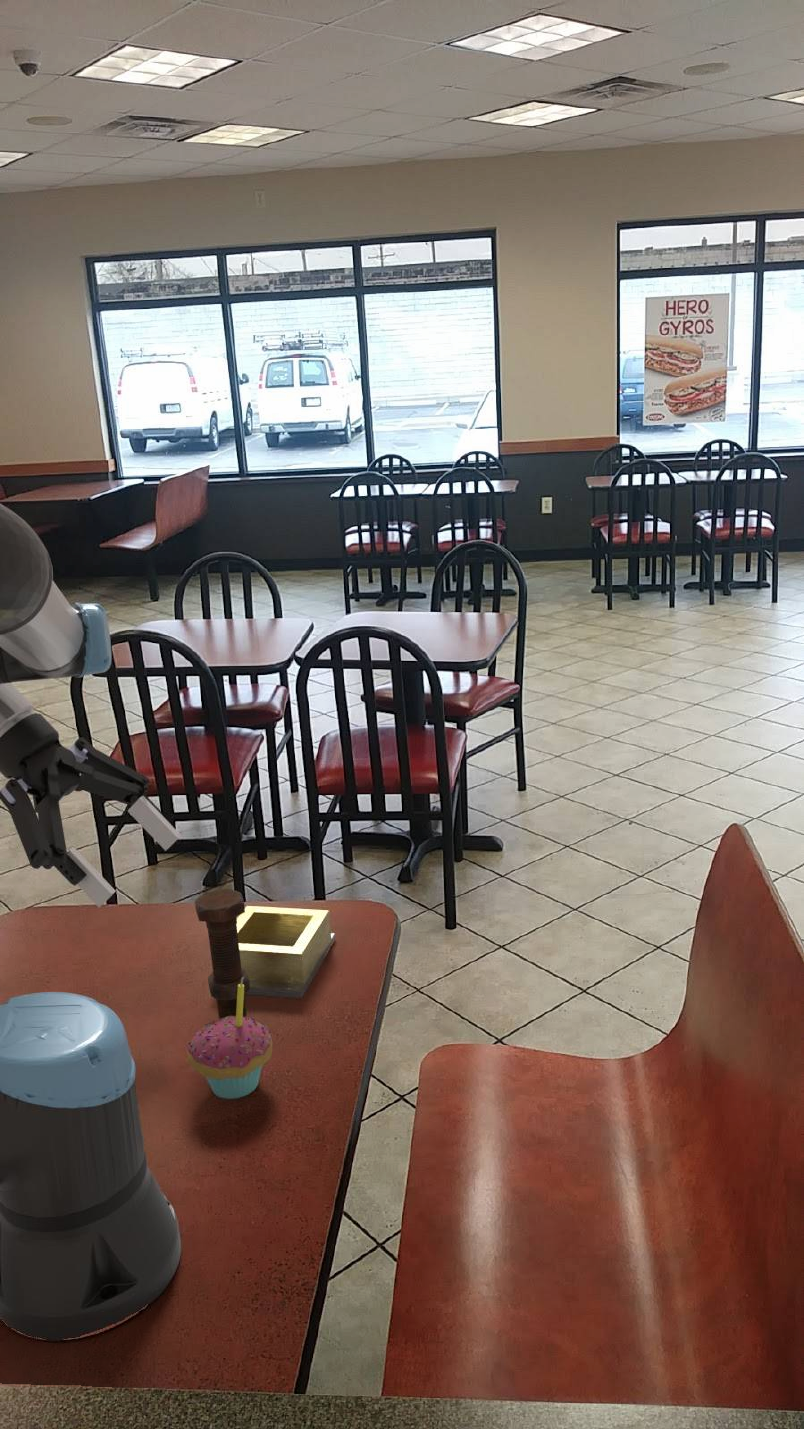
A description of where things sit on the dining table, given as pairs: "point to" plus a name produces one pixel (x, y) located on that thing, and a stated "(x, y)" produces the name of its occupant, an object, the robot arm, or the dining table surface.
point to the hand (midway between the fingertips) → (142, 870)
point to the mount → (282, 948)
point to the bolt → (224, 947)
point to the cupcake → (231, 1052)
